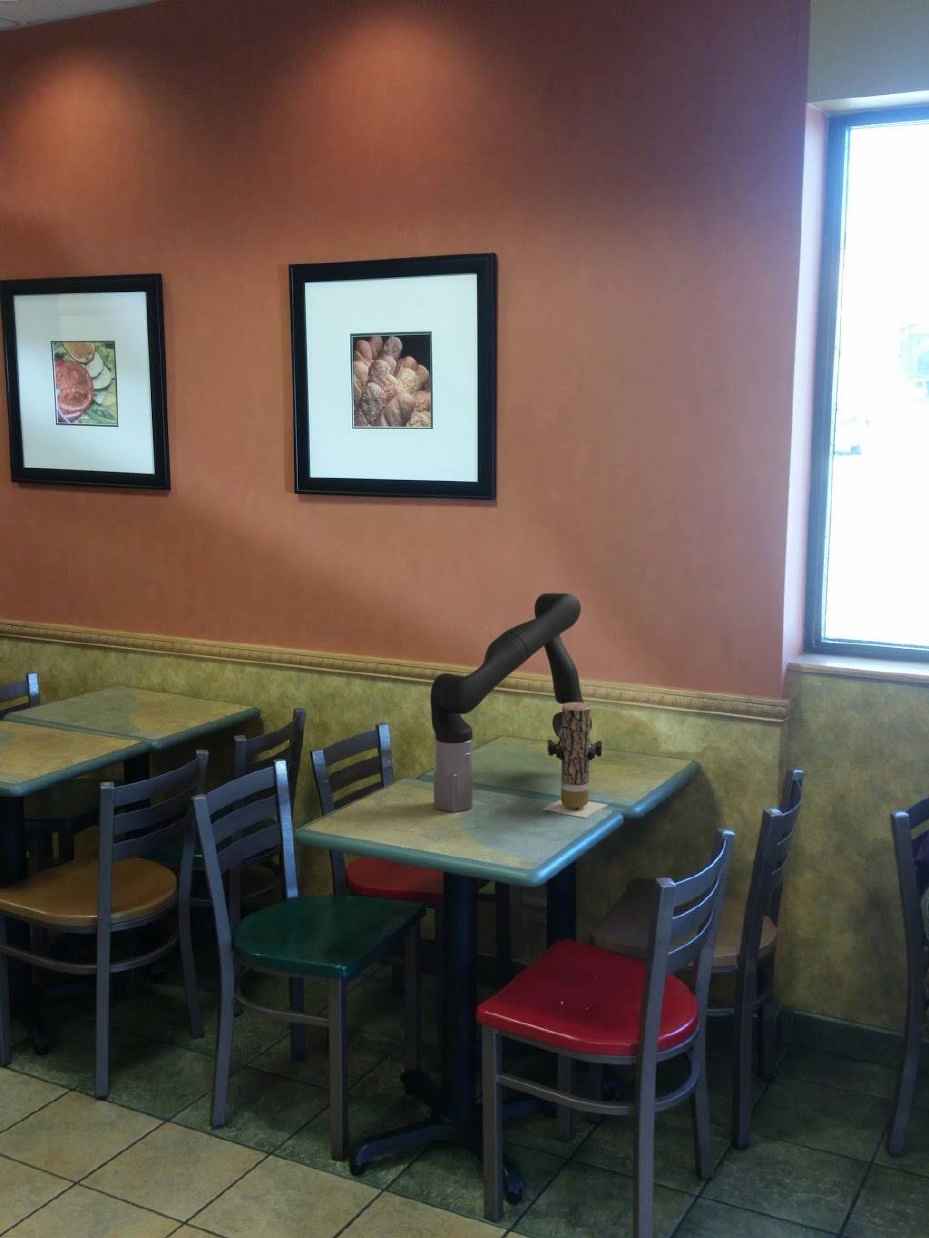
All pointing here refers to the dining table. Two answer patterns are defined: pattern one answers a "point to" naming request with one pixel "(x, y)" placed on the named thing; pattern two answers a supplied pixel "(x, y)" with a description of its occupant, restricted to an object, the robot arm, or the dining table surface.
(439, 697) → the robot arm
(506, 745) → the dining table surface
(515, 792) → the dining table surface
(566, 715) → the brown bark cylinder
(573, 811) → the card
